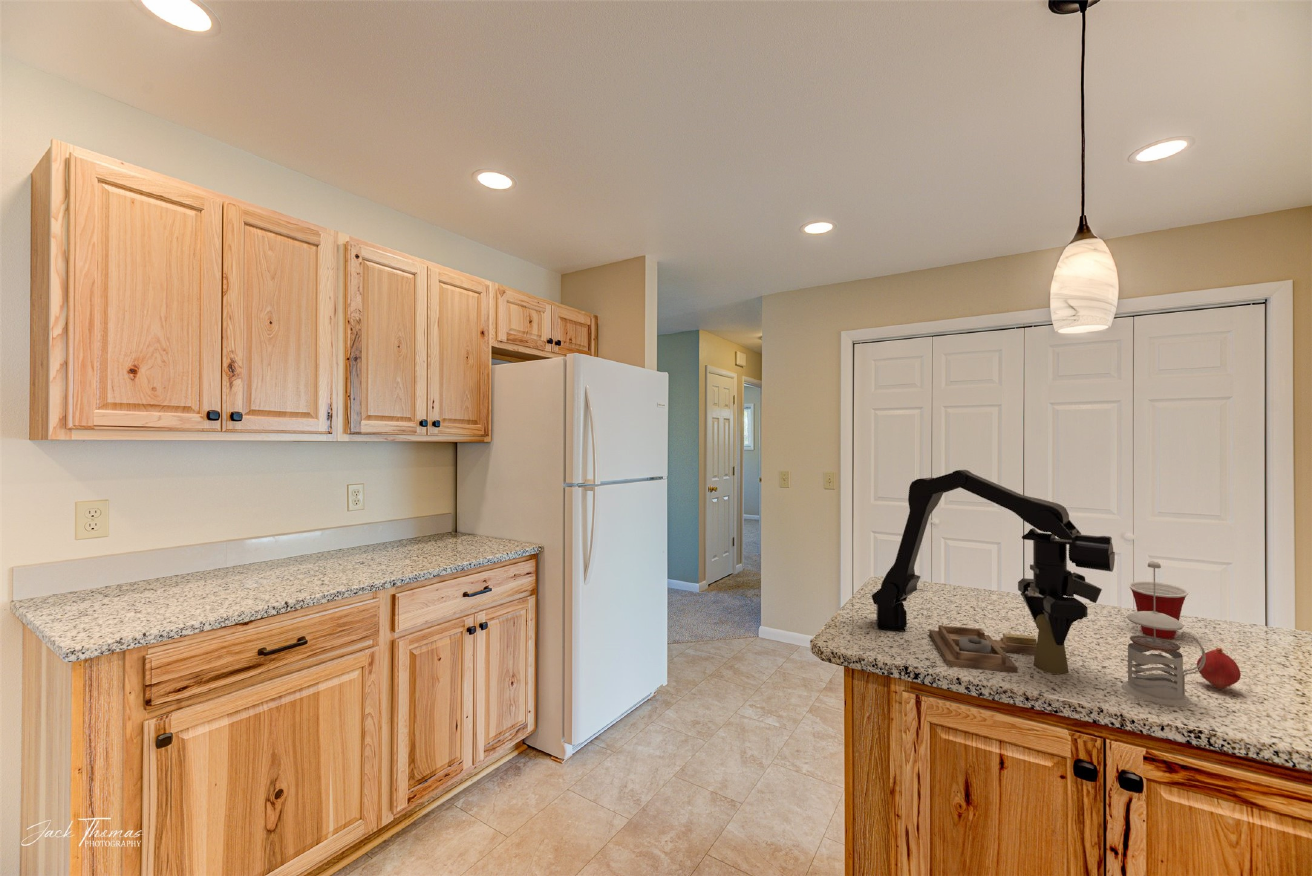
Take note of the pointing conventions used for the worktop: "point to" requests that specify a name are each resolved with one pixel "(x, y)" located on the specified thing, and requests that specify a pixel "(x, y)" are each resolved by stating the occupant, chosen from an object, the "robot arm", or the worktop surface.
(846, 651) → the worktop surface
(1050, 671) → the olive pepper mill
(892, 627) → the robot arm
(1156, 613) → the french press
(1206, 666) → the onion
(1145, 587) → the plastic cup
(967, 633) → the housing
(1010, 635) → the bar
